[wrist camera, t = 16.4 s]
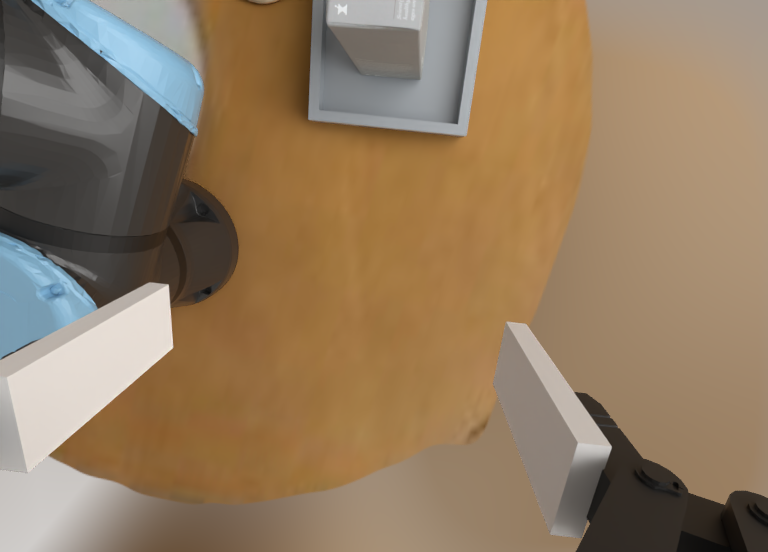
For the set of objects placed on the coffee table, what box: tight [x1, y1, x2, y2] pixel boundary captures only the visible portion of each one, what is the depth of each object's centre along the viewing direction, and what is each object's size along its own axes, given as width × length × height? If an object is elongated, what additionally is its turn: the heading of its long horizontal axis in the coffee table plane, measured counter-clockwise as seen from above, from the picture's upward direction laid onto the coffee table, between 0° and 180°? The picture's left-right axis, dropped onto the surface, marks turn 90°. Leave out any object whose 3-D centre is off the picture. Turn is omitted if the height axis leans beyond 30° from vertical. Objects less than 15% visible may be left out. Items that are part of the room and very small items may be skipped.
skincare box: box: [326, 0, 430, 80], centre depth 32 cm, size 8×7×16 cm
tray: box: [308, 0, 487, 137], centre depth 39 cm, size 16×18×3 cm
